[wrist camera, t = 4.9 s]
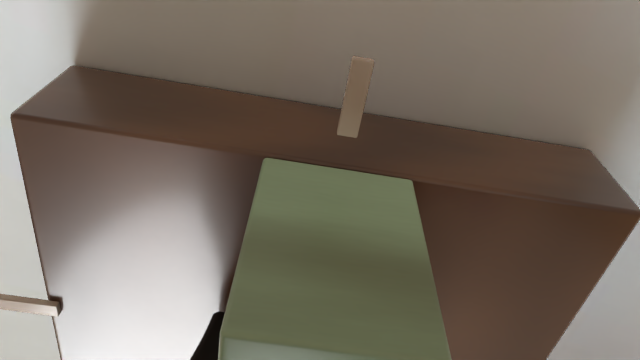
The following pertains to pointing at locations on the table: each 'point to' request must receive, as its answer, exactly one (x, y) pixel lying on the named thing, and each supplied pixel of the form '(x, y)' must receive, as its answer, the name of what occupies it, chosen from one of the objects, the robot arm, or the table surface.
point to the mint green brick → (332, 271)
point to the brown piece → (237, 196)
